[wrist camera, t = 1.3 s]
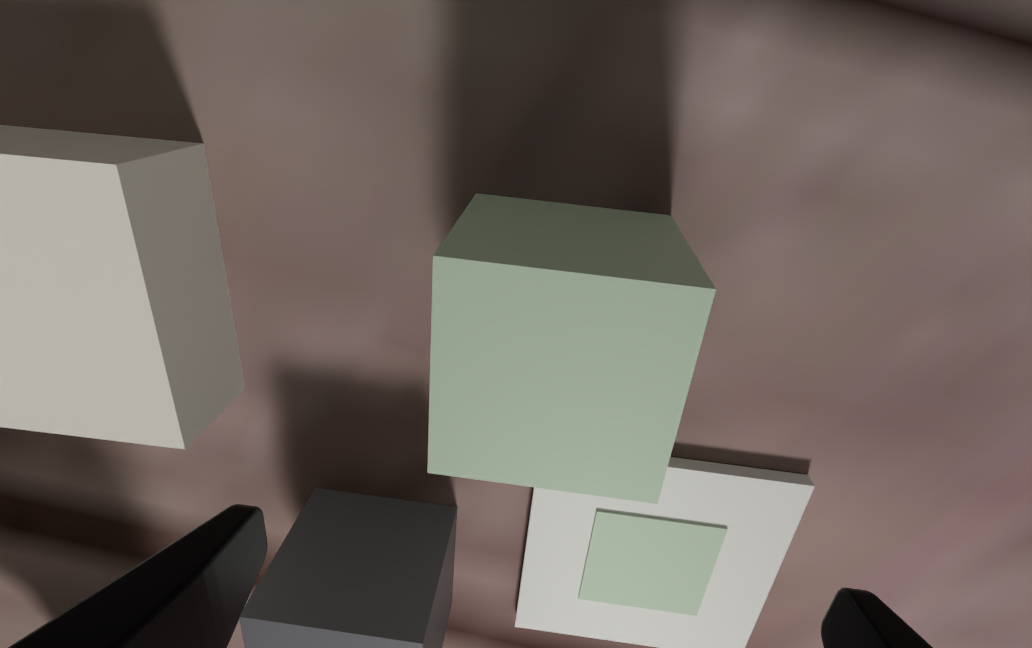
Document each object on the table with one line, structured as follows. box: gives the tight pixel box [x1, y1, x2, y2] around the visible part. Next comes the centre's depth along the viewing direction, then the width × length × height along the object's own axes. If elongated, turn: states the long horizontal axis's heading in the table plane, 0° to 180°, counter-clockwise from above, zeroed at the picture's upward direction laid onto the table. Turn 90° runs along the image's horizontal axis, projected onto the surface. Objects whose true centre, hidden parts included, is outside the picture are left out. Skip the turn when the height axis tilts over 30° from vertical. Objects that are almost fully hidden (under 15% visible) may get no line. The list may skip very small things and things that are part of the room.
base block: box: [0, 125, 245, 449], centre depth 18 cm, size 9×9×4 cm
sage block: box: [427, 193, 716, 504], centre depth 16 cm, size 6×6×6 cm
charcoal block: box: [239, 488, 457, 648], centre depth 22 cm, size 6×6×6 cm
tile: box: [515, 457, 815, 648], centre depth 23 cm, size 10×10×1 cm
